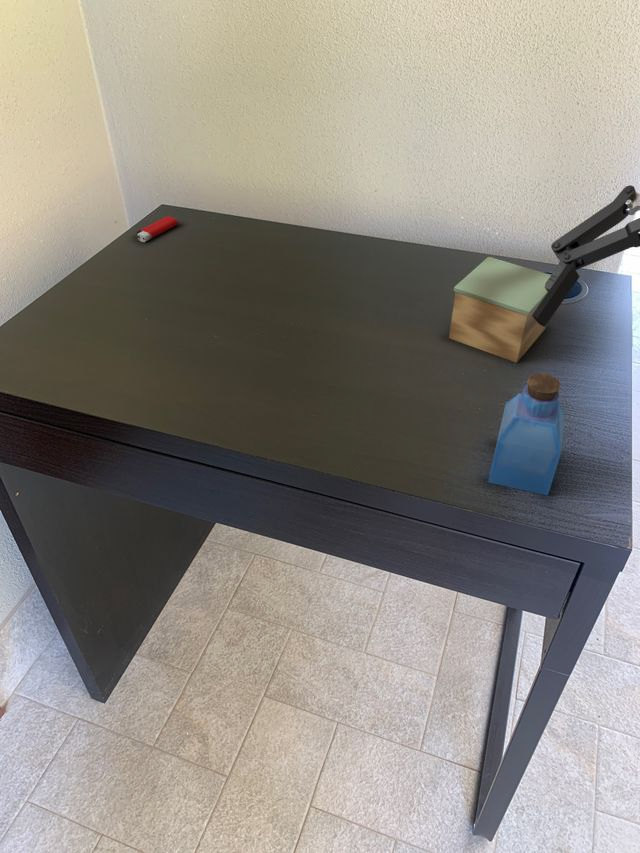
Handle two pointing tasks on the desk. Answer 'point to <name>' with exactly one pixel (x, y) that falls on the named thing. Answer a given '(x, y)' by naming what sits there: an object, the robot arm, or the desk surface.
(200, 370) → the desk surface
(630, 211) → the robot arm
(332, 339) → the desk surface
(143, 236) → the lighter
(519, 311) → the pale green square pedestal
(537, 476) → the perfume bottle
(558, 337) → the desk surface
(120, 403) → the desk surface
